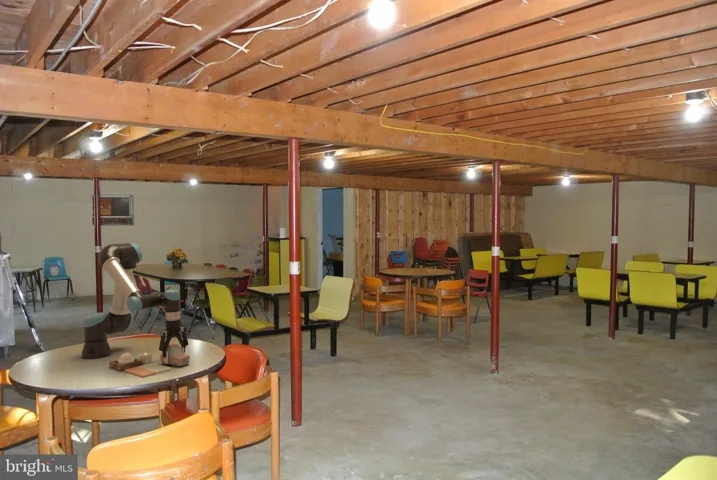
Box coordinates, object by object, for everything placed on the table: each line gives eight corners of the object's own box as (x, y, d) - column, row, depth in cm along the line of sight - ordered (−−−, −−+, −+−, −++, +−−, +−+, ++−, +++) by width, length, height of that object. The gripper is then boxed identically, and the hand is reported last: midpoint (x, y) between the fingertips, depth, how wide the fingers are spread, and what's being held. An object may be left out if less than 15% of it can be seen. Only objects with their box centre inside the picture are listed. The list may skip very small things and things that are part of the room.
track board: (124, 371, 276) (124, 369, 276) (153, 364, 289) (153, 362, 289) (142, 377, 266) (142, 375, 266) (171, 369, 278) (171, 368, 278)
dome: (115, 365, 284) (114, 353, 284) (129, 362, 290) (129, 350, 290) (122, 368, 279) (122, 355, 279) (137, 364, 285) (137, 352, 285)
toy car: (178, 368, 280) (177, 349, 280) (158, 364, 288) (157, 346, 287) (192, 364, 288) (191, 345, 288) (172, 360, 296) (171, 342, 296)
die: (139, 362, 292) (139, 353, 292) (145, 360, 296) (145, 351, 296) (145, 363, 290) (145, 354, 290) (151, 361, 294) (151, 352, 294)
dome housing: (109, 367, 284) (109, 362, 283) (131, 362, 293) (130, 356, 293) (121, 371, 276) (121, 365, 276) (143, 366, 286) (143, 360, 286)
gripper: (158, 323, 277) (159, 367, 278) (194, 316, 294) (196, 357, 295) (150, 321, 281) (151, 364, 283) (186, 315, 298) (187, 355, 300)
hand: (174, 361), depth 289 cm, fingers closed on toy car, 9 cm apart
